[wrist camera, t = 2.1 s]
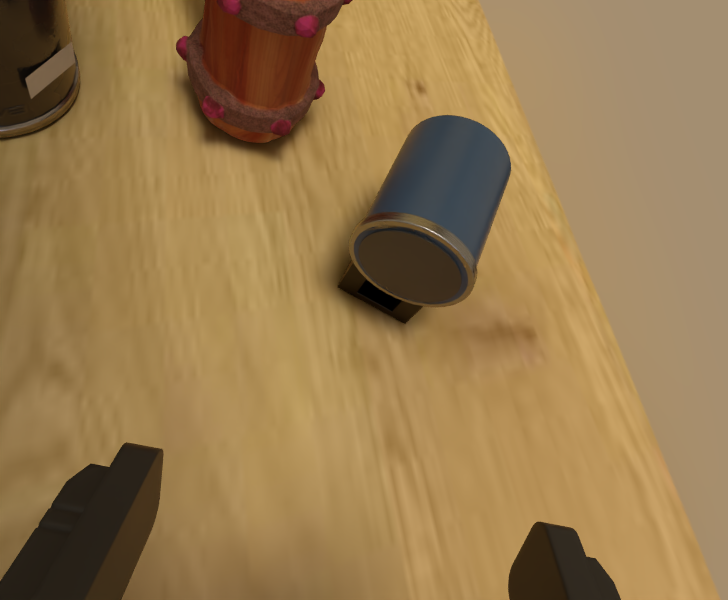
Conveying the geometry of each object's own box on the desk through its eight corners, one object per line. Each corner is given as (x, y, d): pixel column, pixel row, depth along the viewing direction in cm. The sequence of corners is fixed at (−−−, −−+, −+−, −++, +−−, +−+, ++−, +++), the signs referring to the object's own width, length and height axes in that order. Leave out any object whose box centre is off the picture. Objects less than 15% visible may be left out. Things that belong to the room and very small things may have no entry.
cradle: (405, 324, 35) (433, 297, 31) (337, 287, 34) (357, 255, 31) (435, 252, 38) (464, 219, 34) (373, 217, 37) (395, 180, 34)
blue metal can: (437, 324, 31) (499, 271, 25) (332, 266, 31) (372, 200, 25) (477, 219, 35) (539, 153, 29) (386, 166, 35) (430, 89, 29)
